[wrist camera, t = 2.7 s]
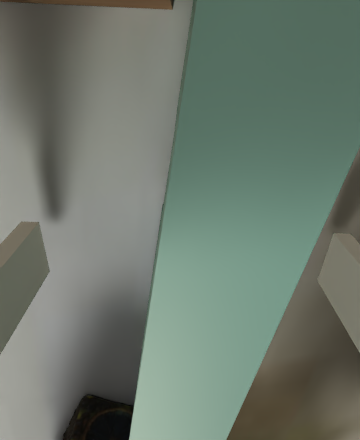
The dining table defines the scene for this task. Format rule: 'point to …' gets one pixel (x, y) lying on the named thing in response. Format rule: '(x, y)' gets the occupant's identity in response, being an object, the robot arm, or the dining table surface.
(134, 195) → the dining table surface
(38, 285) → the robot arm
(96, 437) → the candle
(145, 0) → the slotted stand
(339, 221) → the dining table surface
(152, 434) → the cross piece
